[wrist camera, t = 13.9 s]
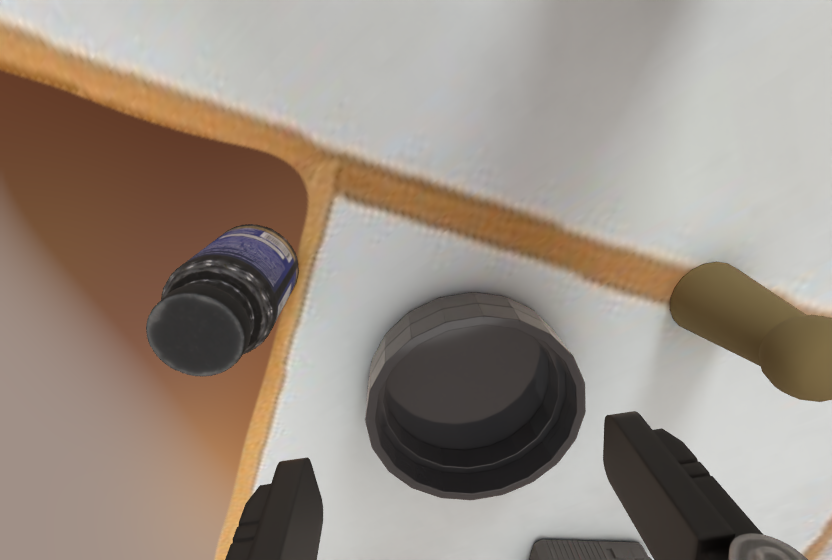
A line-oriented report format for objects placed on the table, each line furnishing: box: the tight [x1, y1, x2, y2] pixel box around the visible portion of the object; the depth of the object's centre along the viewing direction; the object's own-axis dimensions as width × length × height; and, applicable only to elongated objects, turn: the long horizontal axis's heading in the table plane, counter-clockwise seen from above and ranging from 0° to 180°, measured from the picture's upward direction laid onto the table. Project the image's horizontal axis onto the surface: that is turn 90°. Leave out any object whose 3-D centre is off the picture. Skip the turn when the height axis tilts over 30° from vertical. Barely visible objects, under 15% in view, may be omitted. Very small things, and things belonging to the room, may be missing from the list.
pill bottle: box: [146, 224, 299, 376], centre depth 26 cm, size 6×6×11 cm
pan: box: [365, 292, 585, 500], centre depth 34 cm, size 16×16×5 cm
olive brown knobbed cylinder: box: [670, 262, 832, 402], centre depth 30 cm, size 6×6×11 cm
